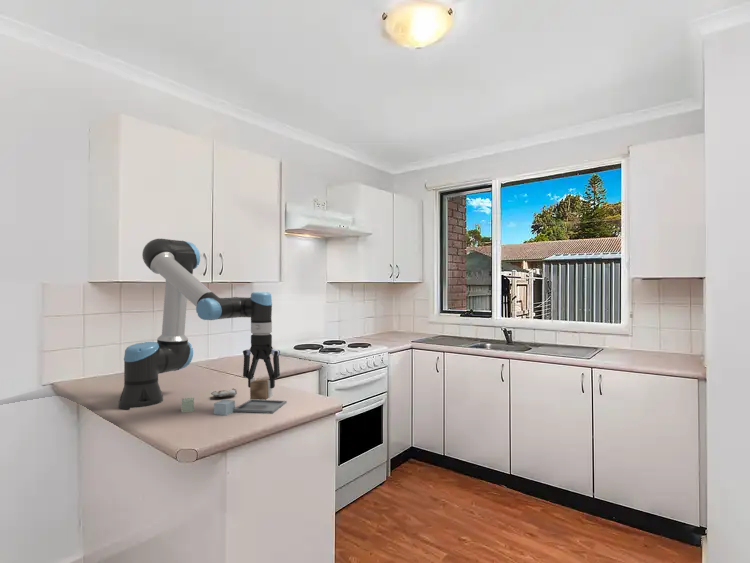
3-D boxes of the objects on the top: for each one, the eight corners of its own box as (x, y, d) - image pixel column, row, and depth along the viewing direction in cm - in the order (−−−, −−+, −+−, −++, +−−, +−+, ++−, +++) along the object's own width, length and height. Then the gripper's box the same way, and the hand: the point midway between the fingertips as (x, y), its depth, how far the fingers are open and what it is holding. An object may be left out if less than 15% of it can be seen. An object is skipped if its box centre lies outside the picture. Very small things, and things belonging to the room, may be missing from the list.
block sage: (181, 412, 156) (181, 401, 156) (182, 409, 160) (182, 398, 160) (193, 411, 158) (193, 400, 158) (194, 408, 162) (194, 397, 162)
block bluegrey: (214, 414, 154) (214, 403, 154) (223, 410, 159) (223, 399, 159) (226, 415, 153) (226, 404, 153) (234, 411, 158) (234, 400, 158)
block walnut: (250, 399, 159) (250, 382, 159) (257, 395, 165) (257, 379, 165) (265, 399, 158) (265, 383, 158) (272, 395, 164) (272, 379, 164)
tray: (233, 412, 156) (233, 408, 156) (250, 402, 170) (250, 399, 170) (272, 414, 154) (272, 410, 154) (286, 404, 167) (286, 400, 167)
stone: (212, 399, 172) (212, 392, 172) (210, 396, 178) (210, 390, 179) (237, 396, 176) (237, 389, 176) (235, 393, 182) (235, 387, 183)
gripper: (232, 334, 160) (232, 398, 160) (282, 335, 157) (282, 400, 157) (241, 332, 167) (242, 393, 167) (289, 333, 164) (289, 395, 164)
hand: (261, 396), depth 162 cm, fingers closed on block walnut, 6 cm apart
